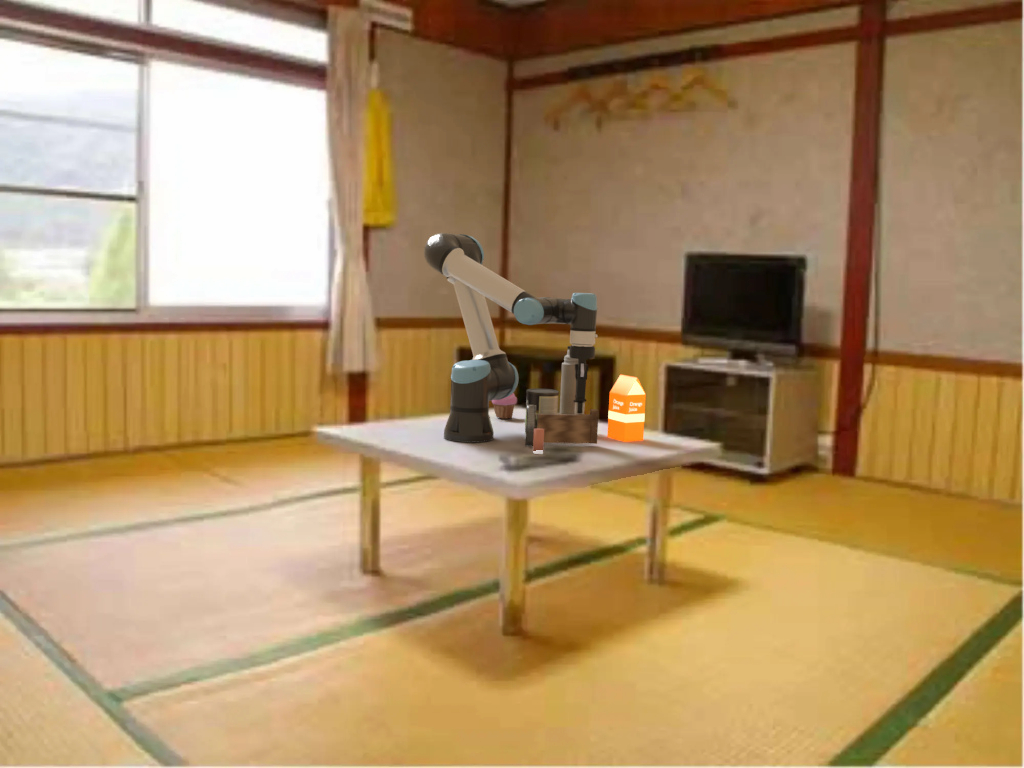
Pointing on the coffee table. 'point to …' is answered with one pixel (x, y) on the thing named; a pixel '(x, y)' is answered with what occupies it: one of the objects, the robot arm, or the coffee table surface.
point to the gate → (569, 427)
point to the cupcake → (505, 406)
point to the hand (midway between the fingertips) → (578, 423)
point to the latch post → (538, 439)
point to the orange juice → (626, 410)
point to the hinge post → (530, 424)
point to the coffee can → (542, 401)
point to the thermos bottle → (568, 385)
